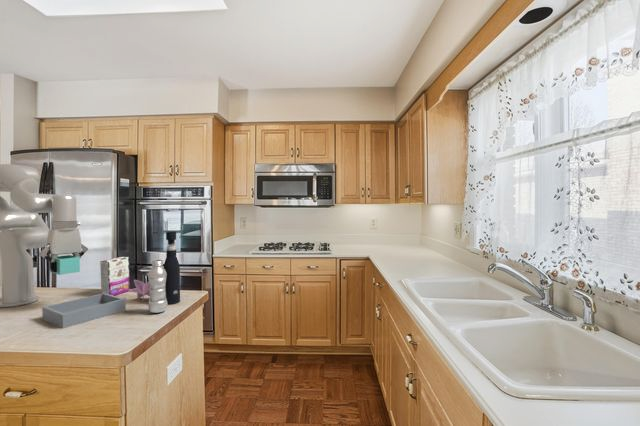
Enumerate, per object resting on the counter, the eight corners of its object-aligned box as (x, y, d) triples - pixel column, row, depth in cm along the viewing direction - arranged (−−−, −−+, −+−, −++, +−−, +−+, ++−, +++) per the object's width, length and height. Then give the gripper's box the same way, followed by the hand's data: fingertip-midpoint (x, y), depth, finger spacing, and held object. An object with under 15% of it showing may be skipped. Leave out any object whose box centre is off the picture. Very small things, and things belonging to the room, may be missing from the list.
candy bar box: (121, 290, 146) (120, 256, 146) (130, 290, 145) (129, 256, 145) (100, 297, 135) (99, 260, 135) (109, 297, 134) (109, 261, 134)
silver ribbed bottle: (171, 310, 118) (171, 259, 118) (157, 316, 112) (156, 262, 112) (158, 308, 121) (158, 258, 120) (144, 314, 114) (143, 261, 114)
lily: (166, 301, 133) (165, 280, 137) (146, 298, 122) (146, 275, 126) (142, 308, 134) (142, 287, 138) (120, 306, 123) (121, 283, 127)
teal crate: (50, 272, 120) (50, 257, 120) (69, 269, 126) (69, 255, 125) (60, 274, 116) (59, 259, 116) (79, 271, 122) (79, 256, 121)
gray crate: (42, 319, 108) (42, 307, 108) (104, 303, 126) (104, 293, 126) (63, 328, 101) (62, 315, 101) (125, 310, 118) (125, 298, 118)
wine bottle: (168, 299, 131) (167, 231, 130) (183, 300, 131) (182, 231, 130) (160, 304, 125) (159, 232, 124) (175, 304, 125) (174, 232, 124)
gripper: (85, 224, 130) (85, 265, 130) (32, 226, 115) (32, 273, 115) (94, 224, 126) (94, 267, 127) (40, 227, 111) (41, 275, 111)
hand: (65, 269), depth 121 cm, fingers closed on teal crate, 6 cm apart
